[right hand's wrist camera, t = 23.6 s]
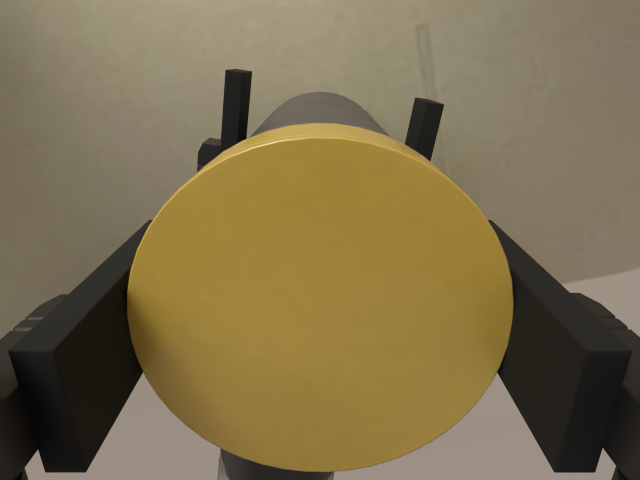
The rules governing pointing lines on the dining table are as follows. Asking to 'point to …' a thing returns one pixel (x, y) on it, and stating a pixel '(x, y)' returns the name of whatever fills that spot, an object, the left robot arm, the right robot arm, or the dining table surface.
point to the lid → (320, 300)
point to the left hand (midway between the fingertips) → (335, 86)
